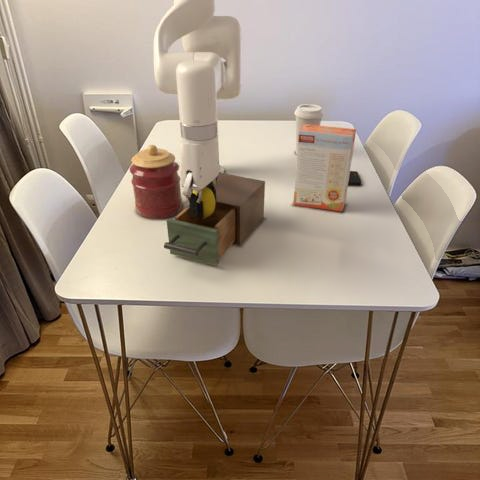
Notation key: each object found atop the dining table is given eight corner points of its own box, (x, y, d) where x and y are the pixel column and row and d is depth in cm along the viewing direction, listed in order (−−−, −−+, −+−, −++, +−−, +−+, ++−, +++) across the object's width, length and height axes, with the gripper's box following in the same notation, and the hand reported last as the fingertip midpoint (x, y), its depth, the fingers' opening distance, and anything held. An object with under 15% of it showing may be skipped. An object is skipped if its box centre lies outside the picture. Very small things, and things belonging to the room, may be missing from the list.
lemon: (212, 225, 104) (211, 192, 99) (189, 223, 105) (186, 190, 100) (218, 214, 108) (217, 181, 103) (195, 212, 109) (193, 179, 104)
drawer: (206, 278, 102) (204, 243, 96) (158, 265, 106) (153, 231, 100) (242, 236, 115) (242, 204, 110) (199, 226, 119) (197, 194, 114)
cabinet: (239, 246, 114) (239, 206, 107) (191, 234, 118) (188, 195, 111) (263, 218, 125) (265, 181, 118) (218, 208, 129) (217, 172, 122)
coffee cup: (323, 151, 162) (328, 106, 152) (311, 160, 156) (316, 113, 146) (299, 146, 166) (303, 101, 156) (286, 154, 160) (289, 108, 150)
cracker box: (345, 203, 131) (357, 128, 118) (341, 213, 127) (354, 135, 113) (297, 196, 135) (304, 122, 121) (292, 205, 130) (298, 129, 117)
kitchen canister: (127, 215, 126) (116, 150, 115) (150, 195, 135) (141, 134, 124) (169, 223, 123) (162, 157, 111) (190, 202, 132) (185, 139, 120)
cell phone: (300, 172, 148) (300, 169, 147) (357, 173, 147) (357, 171, 146) (301, 184, 141) (301, 181, 140) (360, 185, 140) (361, 182, 139)
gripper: (202, 115, 101) (206, 193, 113) (161, 141, 89) (170, 224, 101) (233, 120, 99) (234, 198, 110) (195, 146, 87) (200, 231, 98)
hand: (203, 210), depth 105 cm, fingers closed on lemon, 5 cm apart
